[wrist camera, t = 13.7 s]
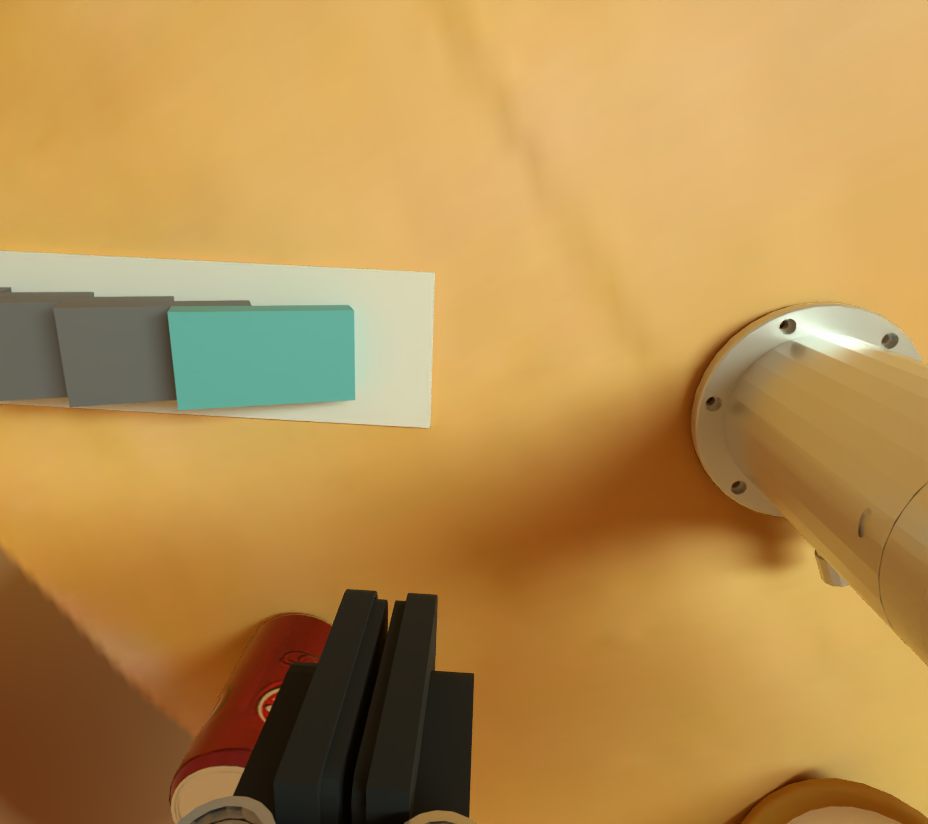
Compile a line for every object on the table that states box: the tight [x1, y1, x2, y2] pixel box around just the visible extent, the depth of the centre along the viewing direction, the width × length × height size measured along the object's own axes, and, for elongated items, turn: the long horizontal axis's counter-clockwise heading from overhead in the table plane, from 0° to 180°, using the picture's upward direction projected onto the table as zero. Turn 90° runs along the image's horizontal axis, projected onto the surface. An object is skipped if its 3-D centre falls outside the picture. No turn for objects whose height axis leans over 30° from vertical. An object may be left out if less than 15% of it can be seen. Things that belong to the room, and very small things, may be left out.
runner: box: [0, 250, 435, 428], centre depth 35 cm, size 30×9×1 cm, turn 87°
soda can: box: [169, 614, 332, 824], centre depth 36 cm, size 7×7×12 cm
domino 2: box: [53, 300, 252, 407], centre depth 33 cm, size 2×5×9 cm
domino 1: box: [0, 296, 174, 401], centre depth 33 cm, size 2×5×9 cm
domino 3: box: [167, 305, 355, 410], centre depth 33 cm, size 2×5×9 cm
